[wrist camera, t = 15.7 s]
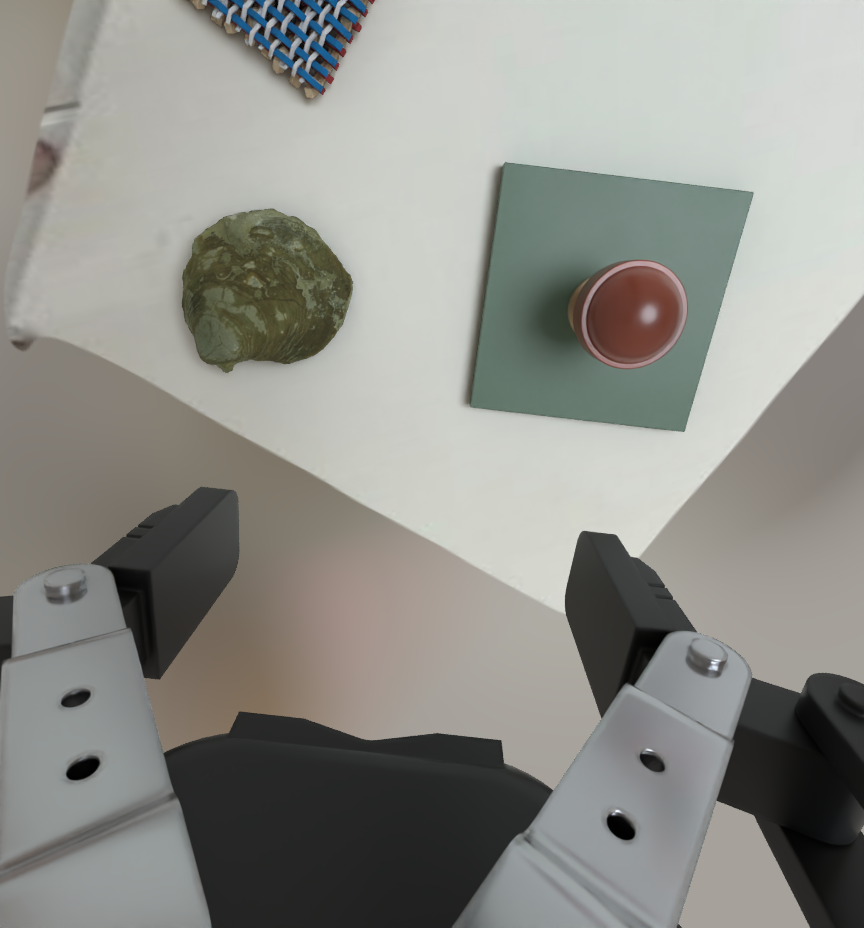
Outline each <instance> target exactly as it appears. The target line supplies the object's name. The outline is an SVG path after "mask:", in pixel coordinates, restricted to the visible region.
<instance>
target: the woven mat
mask: <svg viewBox="0 0 864 928" xmlns="http://www.w3.org/2000/svg"><path fill="white" fill-rule="evenodd" d="M188 1H189V0H188ZM368 1H369V2H370V3H372V4H373V3H374V1H375V0H192V3H193V4H194V6H195V7H196V8H197V9H205V5H206V6H207V3H208V4H209V5H211V6H213V7H214V8H215V9H214V11H213V13H212V17H211V19H212V20H213V21H214V22H215V23H216V24H218V25H219V26H220V27H221V26H222V23H223V21H224V18H225V17H226V21H225V22H224V26H225V29H226V32H227V33H232V34H234V33H236V32H238V33H239V32H240V30H242V31H243V32H245V37H244V39H245V40H244V41H245V43H246V45H247V46H248V45H250V46H254V45H255V42H257V43H258V44H259V47H258V48H259V49H261V53H262V54H263V55H264V56H265V57H266V58H267V59H268V60H270V59H271V58H272V55H273V56H274V60H273V65H272V68H273V69H274V71H275V72H276V73H284V69H287V68H289V69H291V70H292V73H291V74H292V75H291V77H290V79H289V82H290V83H291V84H292V85H293V86H295V87H296V88H297V89H299V87H300V85H301V83H303V82H304V81H306V82H307V83H308V85H307V86H306V87H305V88H304V89H305V94H306V97H307V98H314V97H315V96H316V95H317V94H319V93H321V94H322V95H323V94H324V92H325V88H323V85H324V83H325V81H327V82H328V83H330V84H331V83H332V82H333V80H334V78H333V77H332V76H330V75H329V73H330V71H331V70H332V68H334V69H335V70H336V71H337V69H338V67H339V63H337V58H338V56H339V55H341V56H342V57H344V55H345V54H346V50H345V49H344V48H343V47H344V45H345V43H346V41H347V42H348V43H349V44H351V42H352V40H353V36H352V34H351V33H350V32H351V28H352V29H354V30H355V31H357V32H360V30H361V28H362V27H361V25H360V24H359V23H358V22H357V20H358V18H359V17H360V15H362V16H364V17H366V15H367V13H368V10H367V9H366V8H367V7H366V5H367V3H368ZM276 2H277V3H278V7H277V9H276V8H275V7H274V5H275V3H276ZM323 2H324V3H325V4H326V5H327V6H326V7H325V8H324V9H322V8H321V6H322V4H323ZM346 2H347V3H348V4H349V5H351V6H349V7H348V8H347V9H346V8H345V7H343V5H344V4H345V3H346ZM230 3H232V4H233V6H232V7H231V8H230V9H228V8H229V6H230ZM253 3H255V4H257V5H256V6H255V7H254V8H252V9H251V7H252V5H253ZM300 4H302V5H304V8H303V10H302V11H301V10H300V9H299V5H300ZM268 15H270V16H272V17H273V18H272V19H271V20H270V21H269V22H267V21H266V20H265V19H266V18H267V17H268ZM315 15H316V16H318V17H319V18H318V19H317V20H316V21H313V20H312V19H313V17H314V16H315ZM338 16H339V17H340V18H341V19H340V22H339V21H338V20H337V18H338ZM246 17H248V19H247V23H246V22H245V21H246ZM293 17H295V18H296V19H297V22H296V24H295V25H294V24H293V23H291V22H290V21H291V20H292V18H293ZM260 28H261V29H263V30H264V31H265V34H264V36H262V35H261V34H259V33H258V32H259V29H260ZM286 29H287V30H288V31H290V32H291V34H290V36H289V38H287V37H286V36H285V33H286ZM307 29H308V30H310V33H309V37H308V36H307V35H306V31H307ZM332 29H333V30H334V31H335V32H336V33H337V35H336V37H335V38H334V37H332V36H331V35H329V34H328V33H329V32H330V31H331V30H332ZM301 42H303V43H304V44H305V46H304V50H303V49H301V48H300V47H298V46H299V45H300V43H301ZM280 43H281V44H283V46H281V47H280V48H279V49H277V48H276V47H277V46H278V45H279V44H280ZM324 43H325V44H327V45H328V46H329V47H330V48H329V50H328V52H327V51H326V50H325V49H324V48H323V44H324ZM294 56H297V57H299V59H298V60H297V61H296V62H295V63H294V62H293V61H292V59H293V57H294ZM317 56H319V57H321V58H322V59H323V61H322V63H321V65H320V64H319V63H317V62H316V61H315V59H316V57H317ZM310 68H312V69H313V70H314V71H316V74H315V76H314V78H313V77H312V76H311V75H310V74H309V71H310Z"/></svg>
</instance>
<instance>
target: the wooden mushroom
mask: <svg viewBox="0 0 864 928" xmlns="http://www.w3.org/2000/svg"><path fill="white" fill-rule="evenodd" d="M687 314H688V301H687V295H686V292H685V289H684V287H683V285H682V283H681V281H680V279H679V278H678V277H677V275H676V274H675V273H674V272H673V271H672V270H670V269H669V268H668V267H666V266H664V265H662V264H660V263H658V262H655V261H650V260H627V261H620V262H615V263H613V264H610V265H608V266H606V267H604V268H602V269H600V270H599V271H597V272H596V273H595V274H594V275H593V276H591V277H589V278H587V279H585V280H584V281H583V282H581V283H580V284H579V285H578V286H577V287H576V289H575V290H574V292H573V293H572V295H571V298H570V300H569V304H568V319H569V323H570V325H571V327H572V329H573V331H574V332H575V335H576V337H577V339H578V341H579V343H580V345H581V346H582V347H583V349H584V350H585V351H586V352H587V353H588V354H589V355H591V356H592V357H594V358H595V359H597V360H599V361H600V362H602V363H604V364H606V365H608V366H611V367H614V368H618V369H636V368H641V367H644V366H647V365H649V364H652V363H654V362H655V361H657V360H659V359H660V358H662V357H663V356H664V355H665V354H667V353H668V352H669V351H670V350H671V349H672V347H673V346H674V345H675V344H676V342H677V341H678V339H679V338H680V336H681V334H682V332H683V330H684V327H685V324H686V320H687Z"/></svg>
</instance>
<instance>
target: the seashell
mask: <svg viewBox="0 0 864 928" xmlns="http://www.w3.org/2000/svg"><path fill="white" fill-rule="evenodd" d="M182 279H183V298H182V308H183V311H184V318H185V322H186V323H187V325H188V327H189V330H190V331H191V333H192V334H193V335H194V338H195V343H196V347H197V351H198V354H199V356H200V358H201V359H202V360H203V361H204V362H206V363H207V364H211V365H217V366H218V367H219V368H221V369H222V371H223V372H225V373H228V372H230V371H232V370H233V366H234V365H235V364H236V363H239V362H242V361H247V360H250V359H251V360H255V361H274V362H278V363H283V364H290V363H293V362H296V361H299V360H303V359H307V358H309V357H311V356H314V355H315V354H317V353H318V352H319V351H321V350H322V349H324V347H325V346H326V345H327V344H328V343H329V342H330V341H331V339H332V338H333V337H334V336H335V334H336V333H337V331H338V330H339V328H340V327H341V326H342V325H343V322H344V319H345V316H346V312H347V309H348V307H349V302H350V299H351V295H352V290H353V286H352V284H353V282H352V279H351V276H350V274H348V273H347V272H346V270H345V269H344V267H343V266H342V264H341V263H340V261H339V260H338V258H337V257H336V255H335V254H334V253H333V252H332V251H331V249H330V248H329V247H328V246H327V245H326V244H325V242H324V241H323V240H322V239H321V238H320V236H319V235H318V233H317V231H316V230H315V229H313V228H311V227H309V226H307V225H306V224H305V223H304V222H302V221H301V220H300V219H298V218H297V217H294V216H291V217H288V216H287V215H285V214H283V213H281V212H278V211H276V210H275V209H265V210H256V211H250V212H249V213H246V212H242V213H238V214H235V215H231V216H226V217H223V219H221V220H219V221H218V222H217V223H216V224H215V225H213V226H211V227H210V228H207V229H206V230H205V231H204V232H203V233H202V234H201V235H199V236H198V237H197V238H196V239H195V240H194V243H193V246H192V256H191V258H190V260H189V262H188V264H187V266H186V269H184V272H183V277H182Z"/></svg>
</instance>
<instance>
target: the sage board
mask: <svg viewBox="0 0 864 928" xmlns="http://www.w3.org/2000/svg"><path fill="white" fill-rule="evenodd" d="M753 194H754V193H753V192H747V191H739V190H730V189H722V188H714V187H705V186H697V185H689V184H681V183H672V182H664V181H656V180H647V179H639V178H631V177H622V176H614V175H606V174H597V173H589V172H581V171H572V170H564V169H556V168H548V167H539V166H531V165H523V164H514V163H506V162H505V163H504V165H503V168H502V176H501V183H500V190H499V197H498V204H497V211H496V219H495V226H494V233H493V240H492V247H491V255H490V262H489V269H488V276H487V283H486V291H485V298H484V305H483V312H482V319H481V327H480V334H479V341H478V348H477V355H476V362H475V370H474V377H473V384H472V391H471V398H470V407H474V408H482V409H491V410H500V411H508V412H517V413H526V414H534V415H543V416H551V417H560V418H569V419H577V420H586V421H595V422H603V423H612V424H620V425H629V426H638V427H646V428H655V429H664V430H672V431H681V432H684V431H685V428H686V424H687V421H688V417H689V414H690V411H691V407H692V404H693V400H694V397H695V393H696V390H697V386H698V383H699V380H700V376H701V373H702V369H703V366H704V362H705V359H706V355H707V352H708V349H709V345H710V342H711V338H712V335H713V331H714V328H715V325H716V321H717V318H718V314H719V311H720V307H721V304H722V300H723V297H724V294H725V290H726V287H727V283H728V280H729V276H730V273H731V269H732V266H733V263H734V259H735V256H736V252H737V249H738V245H739V242H740V238H741V235H742V232H743V228H744V225H745V221H746V218H747V214H748V211H749V208H750V204H751V201H752V197H753ZM627 260H650V261H655V262H658V263H660V264H662V265H664V266H666V267H668V268H669V269H670V270H672V271H673V272H674V273H675V274H676V275H677V277H678V278H679V279H680V281H681V283H682V285H683V287H684V289H685V292H686V295H687V301H688V314H687V320H686V324H685V327H684V330H683V332H682V334H681V336H680V338H679V339H678V341H677V342H676V344H675V345H674V346H673V347H672V349H671V350H670V351H669V352H668V353H667V354H665V355H664V356H663V357H662V358H660V359H659V360H657V361H655V362H654V363H652V364H649V365H647V366H644V367H641V368H636V369H618V368H614V367H611V366H608V365H606V364H604V363H602V362H600V361H599V360H597V359H595V358H594V357H592V356H591V355H589V354H588V353H587V352H586V351H585V350H584V349H583V347H582V346H581V345H580V343H579V341H578V339H577V337H576V335H575V332H574V331H573V329H572V327H571V325H570V323H569V319H568V304H569V300H570V298H571V295H572V293H573V292H574V290H575V289H576V287H577V286H578V285H579V284H580V283H581V282H583V281H584V280H585V279H587V278H589V277H591V276H593V275H594V274H595V273H596V272H597V271H599V270H600V269H602V268H604V267H606V266H608V265H610V264H613V263H615V262H620V261H627Z"/></svg>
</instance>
